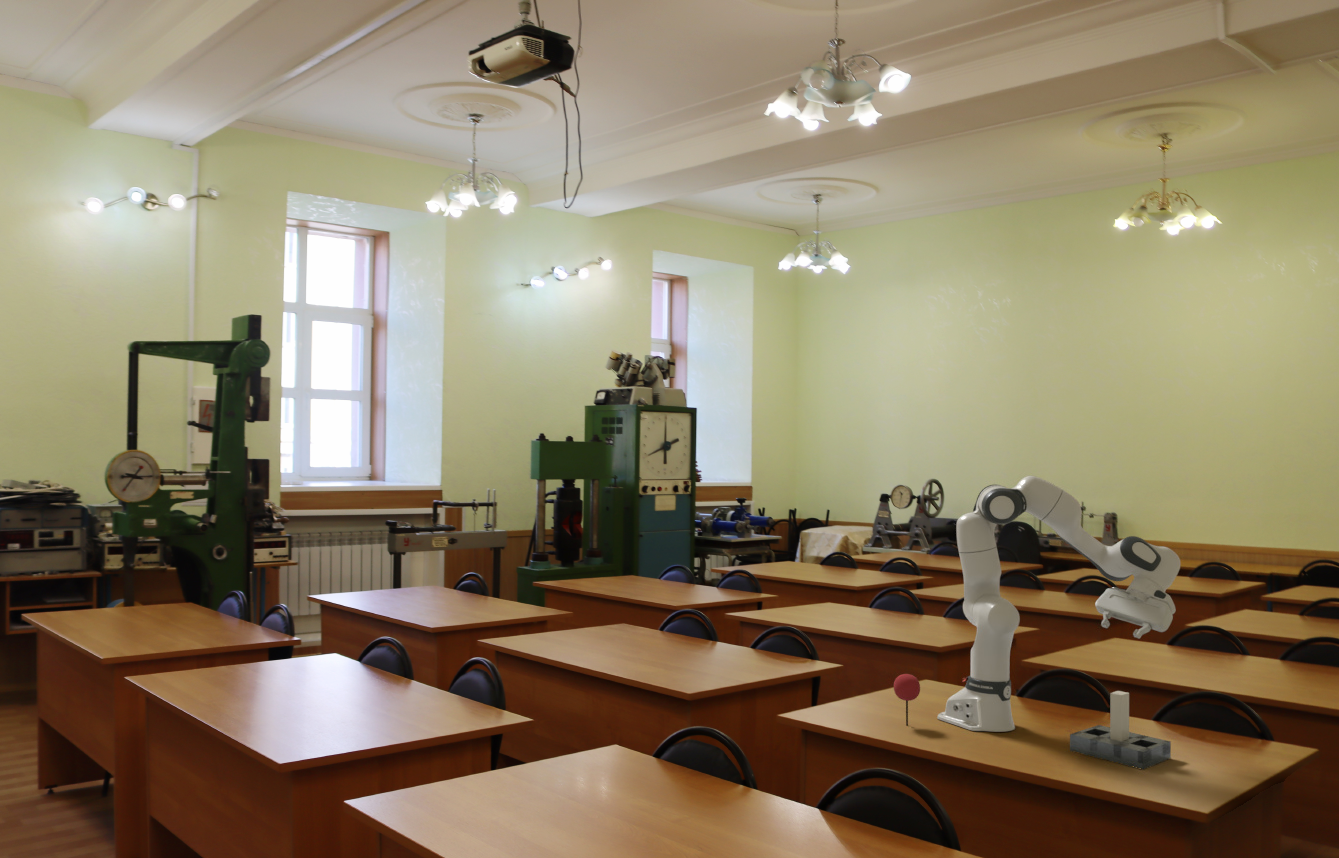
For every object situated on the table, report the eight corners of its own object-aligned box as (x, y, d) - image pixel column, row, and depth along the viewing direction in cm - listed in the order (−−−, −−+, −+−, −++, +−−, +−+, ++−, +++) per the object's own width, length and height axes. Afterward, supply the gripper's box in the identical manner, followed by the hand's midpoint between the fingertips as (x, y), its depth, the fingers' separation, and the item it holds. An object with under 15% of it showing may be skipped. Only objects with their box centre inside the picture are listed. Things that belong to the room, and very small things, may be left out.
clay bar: (1121, 751, 253) (1121, 695, 254) (1110, 748, 256) (1110, 692, 256) (1129, 748, 256) (1129, 692, 257) (1117, 745, 258) (1117, 690, 259)
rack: (1142, 769, 243) (1142, 751, 243) (1069, 750, 258) (1070, 734, 259) (1170, 758, 253) (1170, 741, 253) (1098, 740, 268) (1098, 724, 269)
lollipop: (917, 722, 285) (918, 671, 285) (921, 729, 277) (922, 677, 278) (891, 721, 285) (892, 670, 286) (895, 728, 278) (895, 676, 278)
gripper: (1106, 578, 277) (1082, 613, 272) (1175, 597, 260) (1151, 635, 255) (1112, 592, 280) (1088, 627, 275) (1181, 612, 263) (1158, 649, 258)
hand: (1119, 631), depth 265 cm, fingers open, 8 cm apart
